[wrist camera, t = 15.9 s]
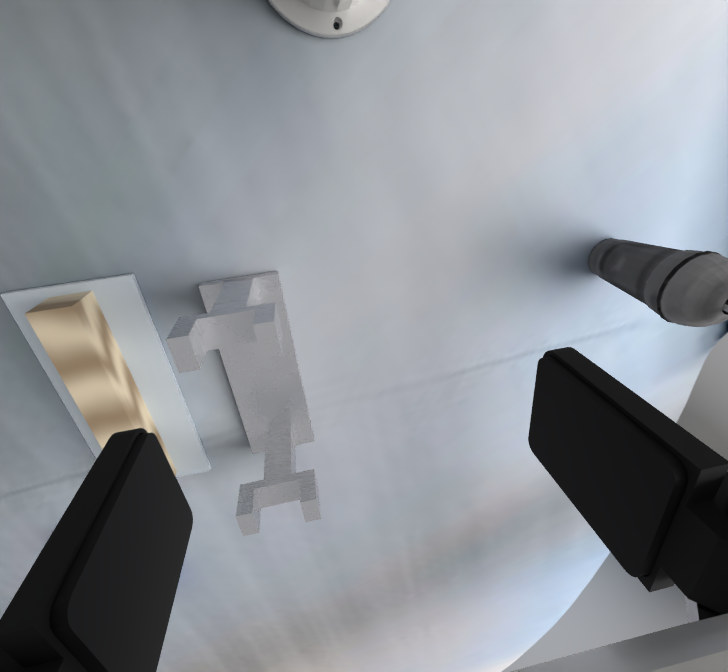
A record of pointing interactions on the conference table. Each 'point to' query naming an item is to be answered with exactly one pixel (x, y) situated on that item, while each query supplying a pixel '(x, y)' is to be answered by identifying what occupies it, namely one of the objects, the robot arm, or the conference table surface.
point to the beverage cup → (667, 279)
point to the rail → (91, 365)
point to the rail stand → (256, 384)
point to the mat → (139, 353)
